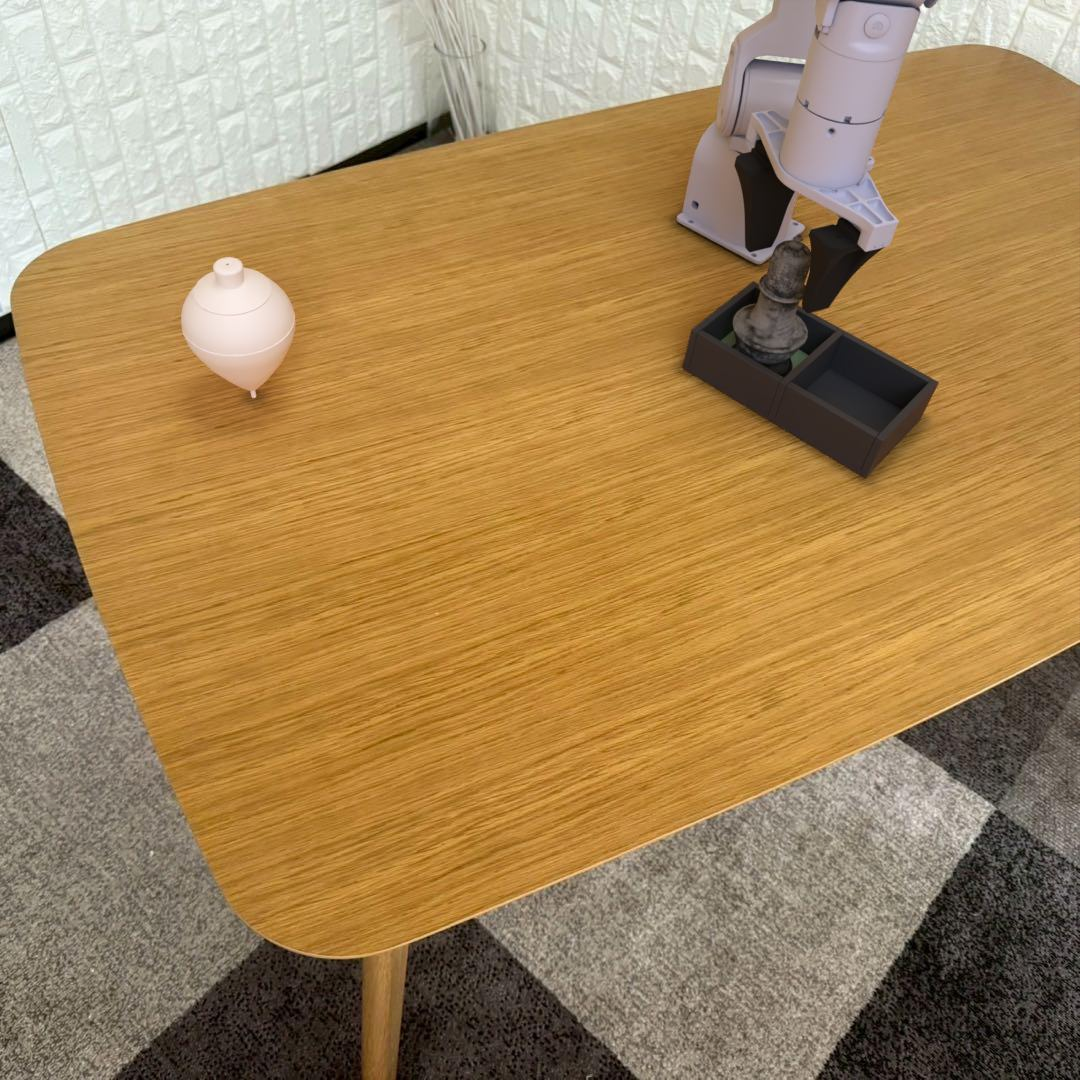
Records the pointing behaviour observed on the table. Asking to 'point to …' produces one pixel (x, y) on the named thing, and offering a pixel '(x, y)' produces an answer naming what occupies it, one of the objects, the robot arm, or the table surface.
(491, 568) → the table surface
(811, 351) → the divided box
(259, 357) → the spinning top
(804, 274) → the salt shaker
